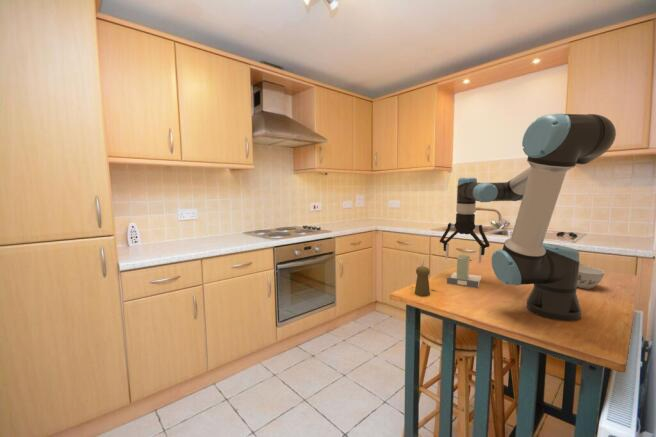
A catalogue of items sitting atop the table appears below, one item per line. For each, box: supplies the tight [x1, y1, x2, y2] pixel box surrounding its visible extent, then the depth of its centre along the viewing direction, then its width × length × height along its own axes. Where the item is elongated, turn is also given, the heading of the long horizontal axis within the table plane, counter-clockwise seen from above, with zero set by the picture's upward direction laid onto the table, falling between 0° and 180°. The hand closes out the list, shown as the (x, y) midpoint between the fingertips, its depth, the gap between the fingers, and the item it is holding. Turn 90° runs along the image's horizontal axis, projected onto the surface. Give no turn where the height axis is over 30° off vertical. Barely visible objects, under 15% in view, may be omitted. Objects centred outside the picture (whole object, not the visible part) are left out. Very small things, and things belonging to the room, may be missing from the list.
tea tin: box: [456, 254, 471, 280], centre depth 136 cm, size 8×4×10 cm, turn 149°
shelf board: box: [446, 272, 482, 289], centre depth 135 cm, size 18×12×4 cm, turn 149°
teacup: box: [577, 264, 605, 290], centre depth 128 cm, size 15×12×8 cm
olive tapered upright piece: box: [414, 266, 431, 297], centre depth 122 cm, size 6×6×11 cm
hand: (462, 260), depth 136 cm, fingers open, 13 cm apart
